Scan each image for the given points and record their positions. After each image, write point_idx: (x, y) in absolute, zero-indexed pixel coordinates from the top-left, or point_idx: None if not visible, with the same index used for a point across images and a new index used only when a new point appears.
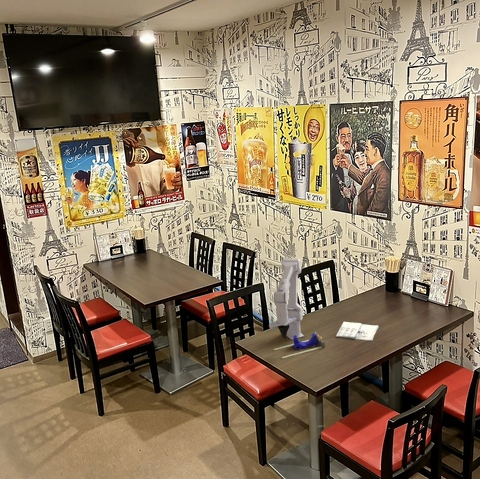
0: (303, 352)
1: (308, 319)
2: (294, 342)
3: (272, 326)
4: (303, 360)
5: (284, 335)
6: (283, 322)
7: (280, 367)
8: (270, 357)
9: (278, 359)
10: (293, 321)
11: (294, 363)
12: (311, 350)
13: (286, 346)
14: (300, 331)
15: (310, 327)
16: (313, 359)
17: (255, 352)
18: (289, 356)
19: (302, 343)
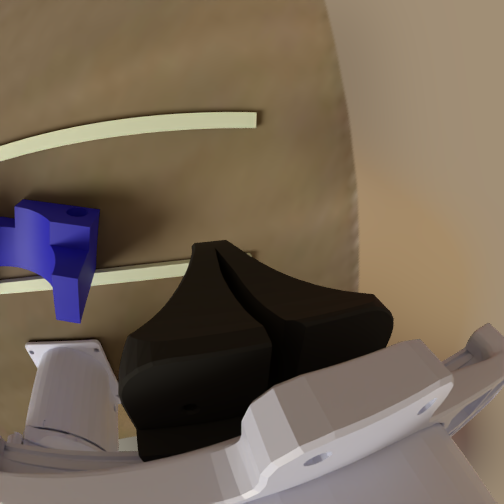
0: (63, 129)
1: (21, 431)
2: (88, 258)
3: (496, 350)
4: (119, 20)
5: (227, 254)
6: (430, 476)
7: (320, 22)
8: (315, 177)
9: (283, 121)
10: (13, 461)
11: (206, 9)
12: (5, 145)
13: (152, 269)
14: (36, 374)
15: (4, 391)
16: (51, 15)
17: (349, 273)
18: (191, 113)
19: (34, 246)
